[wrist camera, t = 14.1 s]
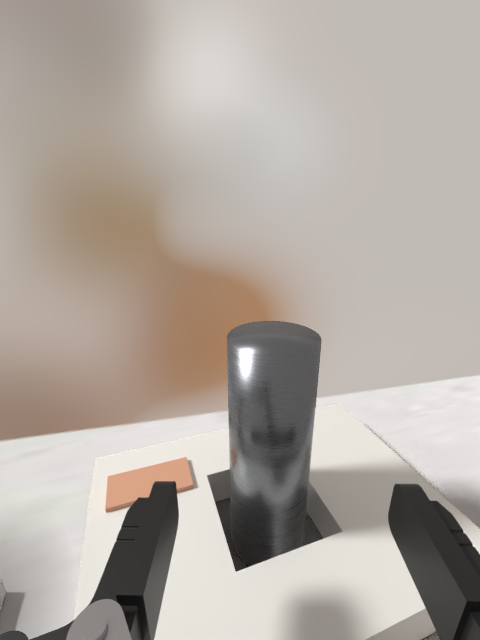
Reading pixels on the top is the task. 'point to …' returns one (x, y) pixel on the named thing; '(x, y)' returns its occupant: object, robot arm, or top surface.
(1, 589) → the mat
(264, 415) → the cylinder
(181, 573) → the plate
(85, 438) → the top surface
